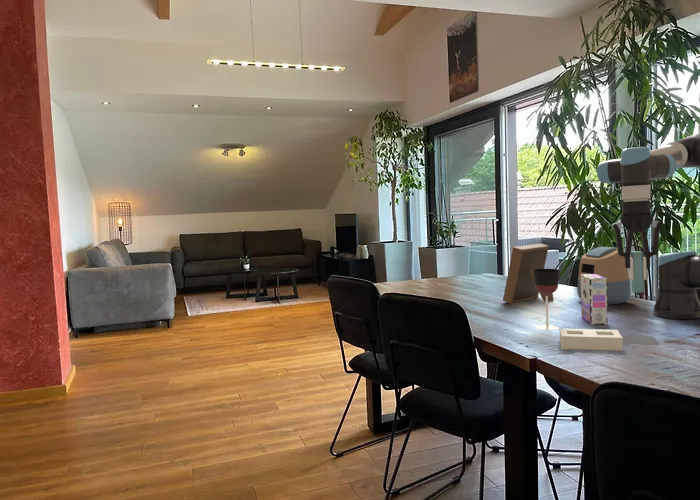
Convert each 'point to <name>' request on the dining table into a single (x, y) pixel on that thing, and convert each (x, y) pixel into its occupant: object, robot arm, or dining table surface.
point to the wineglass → (546, 288)
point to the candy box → (594, 299)
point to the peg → (637, 271)
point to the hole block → (591, 339)
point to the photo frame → (525, 273)
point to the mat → (640, 340)
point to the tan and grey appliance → (607, 272)
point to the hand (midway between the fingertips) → (637, 278)
